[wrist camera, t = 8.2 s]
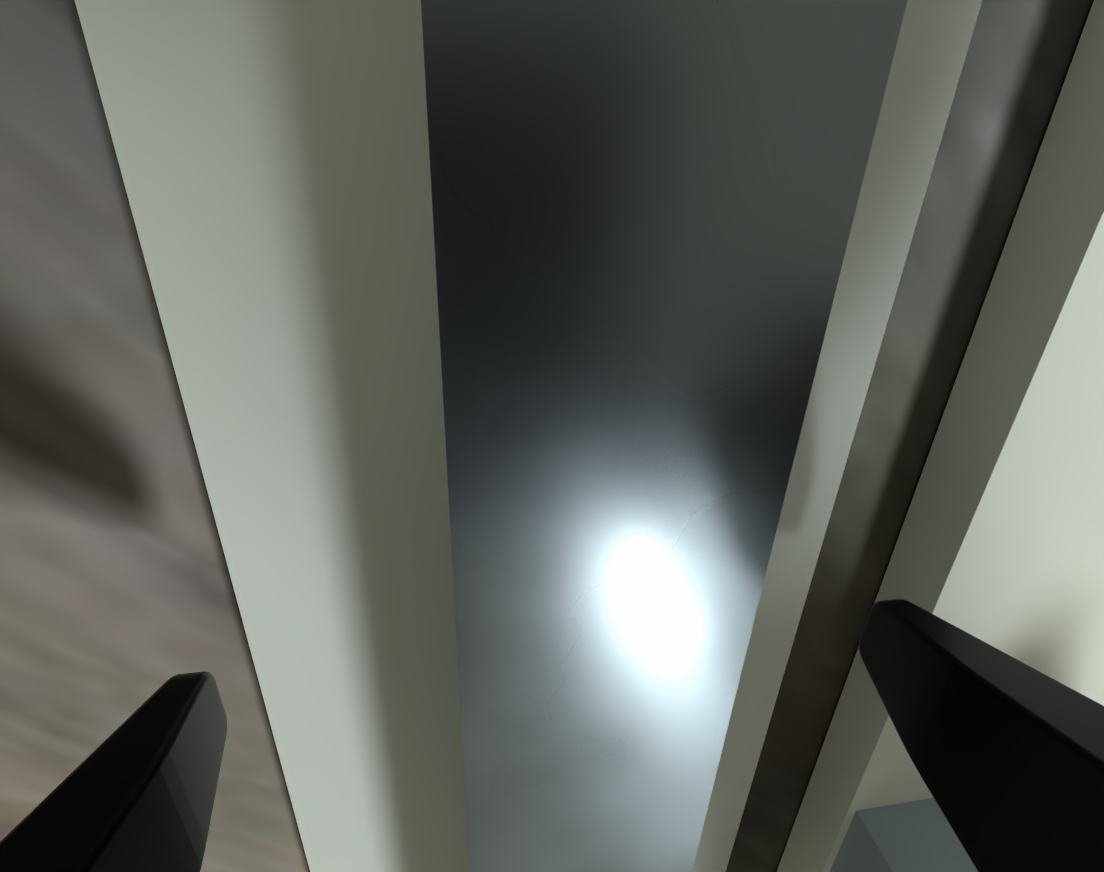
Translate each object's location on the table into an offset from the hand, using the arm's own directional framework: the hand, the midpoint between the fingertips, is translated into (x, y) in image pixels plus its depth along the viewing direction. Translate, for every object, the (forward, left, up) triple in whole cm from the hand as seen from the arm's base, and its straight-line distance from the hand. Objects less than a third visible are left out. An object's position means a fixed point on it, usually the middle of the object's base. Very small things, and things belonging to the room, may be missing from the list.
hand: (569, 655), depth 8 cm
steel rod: (0, 0, -1) cm, 1 cm away
